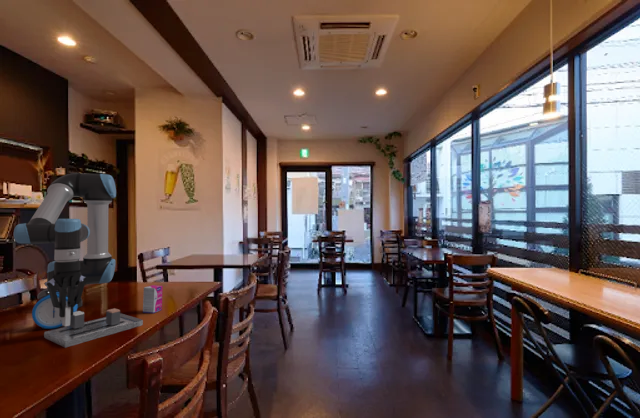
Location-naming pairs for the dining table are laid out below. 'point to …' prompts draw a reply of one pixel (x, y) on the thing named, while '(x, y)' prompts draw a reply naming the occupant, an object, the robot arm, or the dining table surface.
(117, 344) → the dining table surface
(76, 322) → the fader white
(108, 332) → the console
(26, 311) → the dining table surface
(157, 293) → the supplement box
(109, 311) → the fader terracotta
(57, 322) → the alarm clock
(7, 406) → the dining table surface
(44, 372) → the dining table surface
